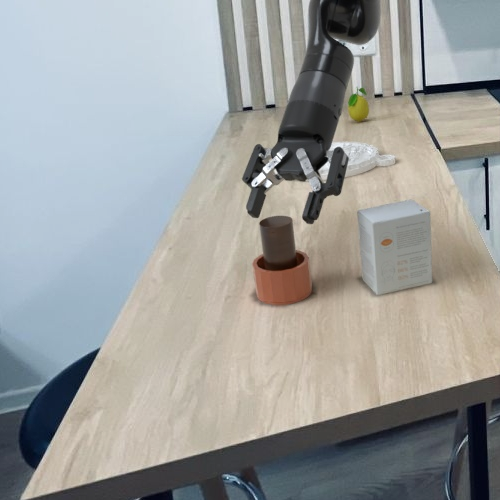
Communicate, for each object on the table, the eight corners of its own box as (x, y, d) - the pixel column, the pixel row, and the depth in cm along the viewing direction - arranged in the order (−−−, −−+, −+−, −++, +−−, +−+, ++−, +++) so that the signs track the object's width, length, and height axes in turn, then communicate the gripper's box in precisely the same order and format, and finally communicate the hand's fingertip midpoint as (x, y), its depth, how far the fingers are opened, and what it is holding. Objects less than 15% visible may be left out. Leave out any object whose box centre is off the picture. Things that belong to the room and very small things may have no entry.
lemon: (368, 118, 184) (365, 82, 180) (374, 122, 179) (372, 85, 175) (344, 122, 184) (342, 86, 180) (350, 126, 178) (347, 89, 174)
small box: (414, 268, 92) (412, 198, 88) (433, 284, 87) (431, 210, 83) (361, 280, 91) (356, 209, 87) (376, 297, 86) (372, 222, 82)
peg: (305, 284, 91) (298, 217, 87) (289, 298, 87) (281, 229, 84) (278, 280, 93) (270, 214, 89) (261, 293, 90) (252, 225, 86)
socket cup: (321, 285, 91) (318, 252, 89) (294, 310, 85) (290, 276, 84) (275, 278, 95) (271, 246, 93) (246, 301, 90) (241, 268, 88)
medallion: (291, 152, 160) (290, 143, 160) (403, 149, 150) (403, 139, 149) (258, 182, 141) (257, 171, 140) (385, 180, 130) (384, 169, 130)
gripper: (257, 98, 92) (221, 202, 88) (349, 96, 84) (315, 211, 80) (280, 126, 98) (248, 225, 94) (369, 127, 90) (338, 235, 86)
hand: (279, 218), depth 87 cm, fingers open, 8 cm apart
